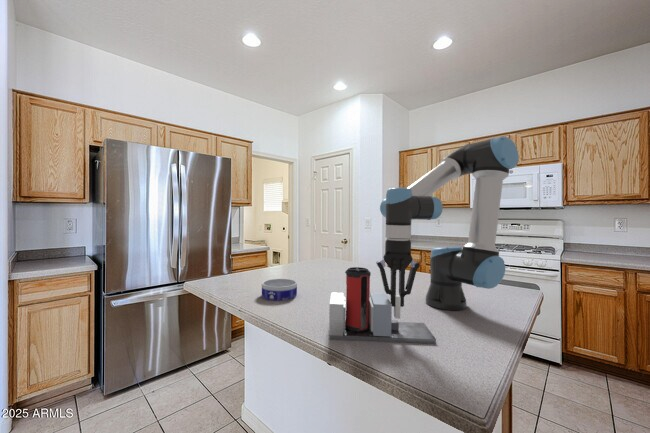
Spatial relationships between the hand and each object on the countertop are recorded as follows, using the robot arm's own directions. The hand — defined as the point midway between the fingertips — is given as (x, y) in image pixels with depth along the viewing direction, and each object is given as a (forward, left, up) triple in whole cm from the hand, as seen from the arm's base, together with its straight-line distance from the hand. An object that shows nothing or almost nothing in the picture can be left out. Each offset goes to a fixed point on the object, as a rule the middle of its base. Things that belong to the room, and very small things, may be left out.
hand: (397, 316), depth 86 cm
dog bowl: (+44, -35, -6) cm, 57 cm away
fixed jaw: (+18, 0, -4) cm, 18 cm away
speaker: (+12, 0, -4) cm, 13 cm away
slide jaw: (+4, 0, -4) cm, 5 cm away
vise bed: (+5, 0, -5) cm, 7 cm away
